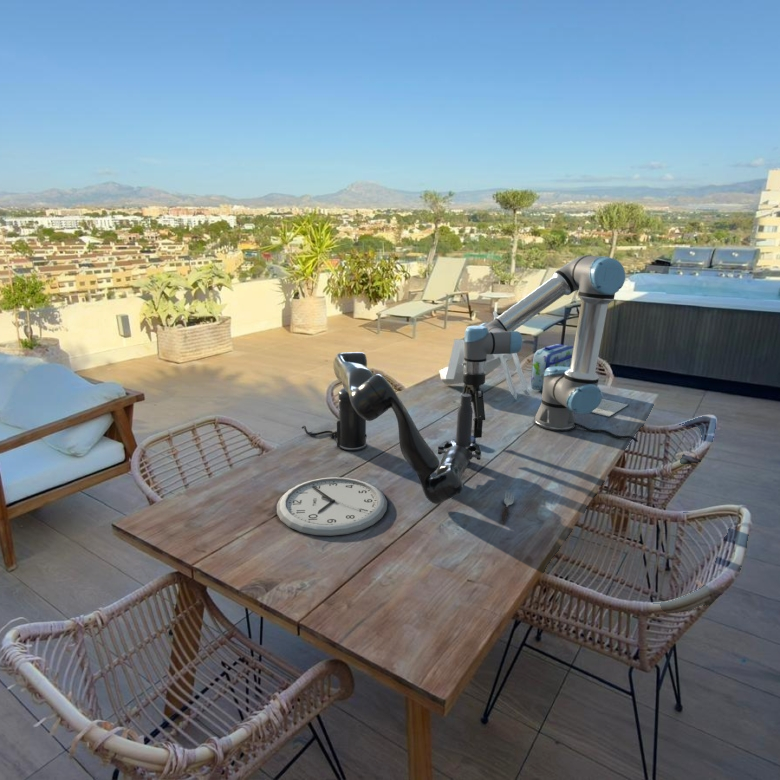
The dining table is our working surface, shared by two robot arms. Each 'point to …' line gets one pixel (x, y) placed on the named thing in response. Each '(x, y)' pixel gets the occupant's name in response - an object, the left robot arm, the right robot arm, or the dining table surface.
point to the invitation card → (608, 407)
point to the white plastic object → (455, 368)
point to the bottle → (464, 421)
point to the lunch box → (549, 362)
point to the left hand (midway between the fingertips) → (464, 441)
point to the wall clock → (331, 506)
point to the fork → (507, 502)
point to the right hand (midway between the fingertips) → (471, 430)
